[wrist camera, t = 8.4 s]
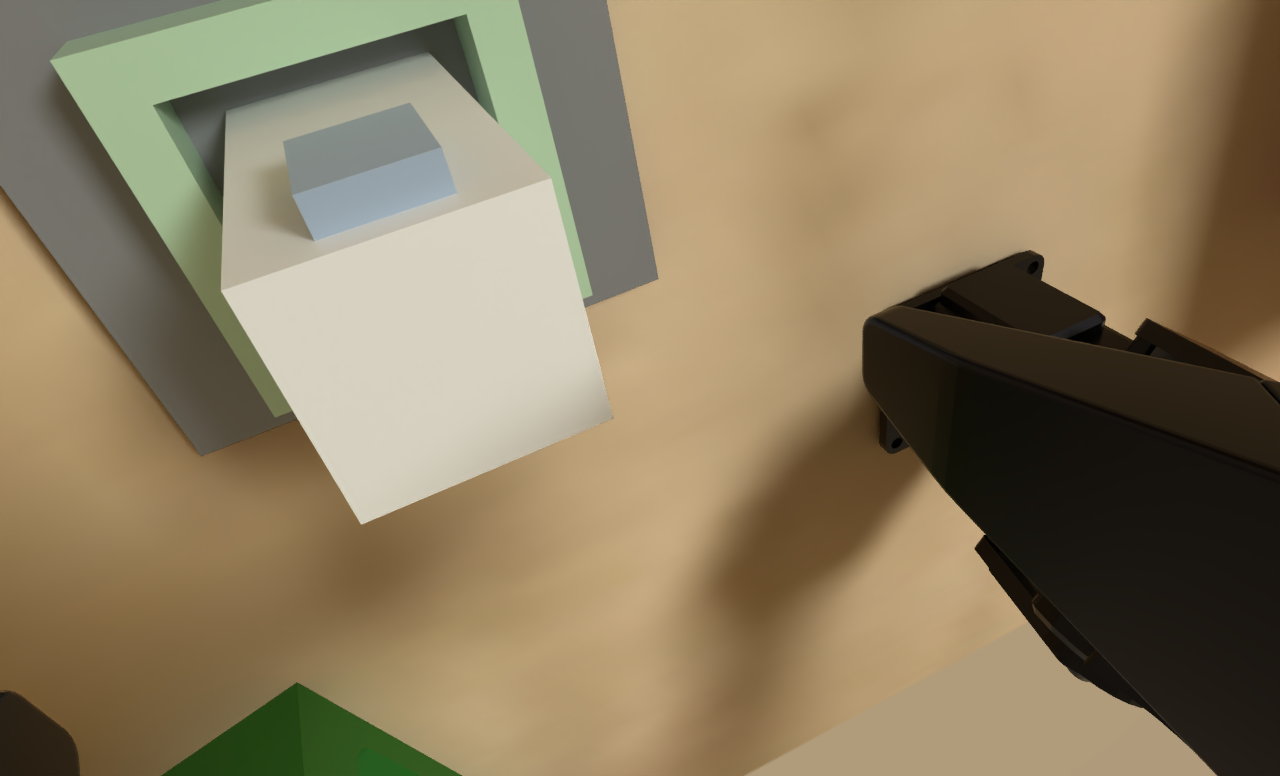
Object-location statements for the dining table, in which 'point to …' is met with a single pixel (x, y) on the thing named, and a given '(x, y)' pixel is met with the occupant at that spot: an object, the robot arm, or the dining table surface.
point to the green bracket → (306, 744)
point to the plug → (405, 281)
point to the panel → (195, 153)
